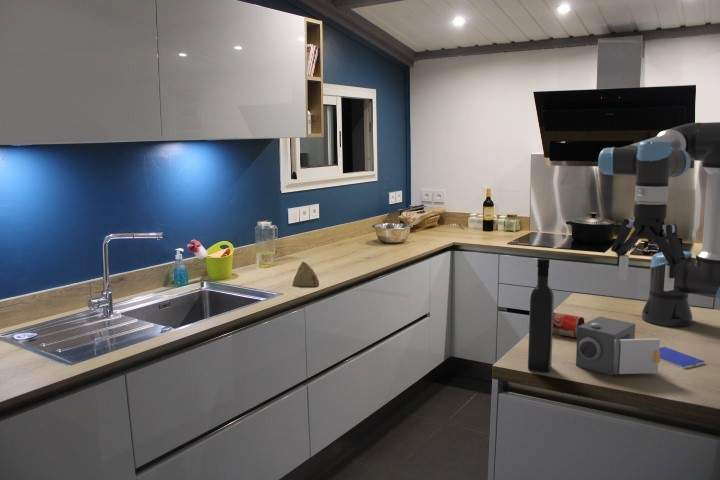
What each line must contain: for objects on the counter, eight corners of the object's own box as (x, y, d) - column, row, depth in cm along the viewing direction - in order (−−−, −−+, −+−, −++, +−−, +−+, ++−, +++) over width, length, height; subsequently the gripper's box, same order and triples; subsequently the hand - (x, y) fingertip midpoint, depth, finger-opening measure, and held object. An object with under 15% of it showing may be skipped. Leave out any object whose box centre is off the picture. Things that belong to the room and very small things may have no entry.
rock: (326, 280, 261) (312, 272, 269) (317, 266, 256) (303, 259, 264) (308, 298, 258) (295, 290, 265) (298, 284, 253) (285, 277, 260)
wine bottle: (530, 363, 171) (533, 256, 166) (551, 366, 169) (556, 257, 164) (527, 370, 166) (530, 260, 161) (549, 373, 164) (553, 262, 158)
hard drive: (645, 350, 176) (684, 365, 165) (665, 346, 180) (704, 360, 169) (644, 356, 177) (683, 371, 165) (665, 351, 180) (704, 365, 169)
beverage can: (546, 328, 201) (547, 308, 200) (584, 335, 194) (585, 314, 193) (538, 334, 195) (539, 313, 194) (577, 341, 188) (578, 320, 187)
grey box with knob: (597, 353, 178) (599, 313, 176) (633, 362, 170) (636, 321, 168) (572, 367, 167) (574, 325, 165) (609, 377, 160) (612, 333, 158)
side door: (655, 371, 161) (657, 338, 160) (658, 373, 160) (661, 340, 158) (611, 372, 161) (613, 339, 159) (614, 375, 159) (616, 341, 158)
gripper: (600, 199, 166) (595, 276, 169) (686, 208, 144) (679, 297, 147) (619, 197, 169) (614, 273, 173) (707, 206, 147) (699, 293, 151)
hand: (644, 284), depth 160 cm, fingers open, 13 cm apart
